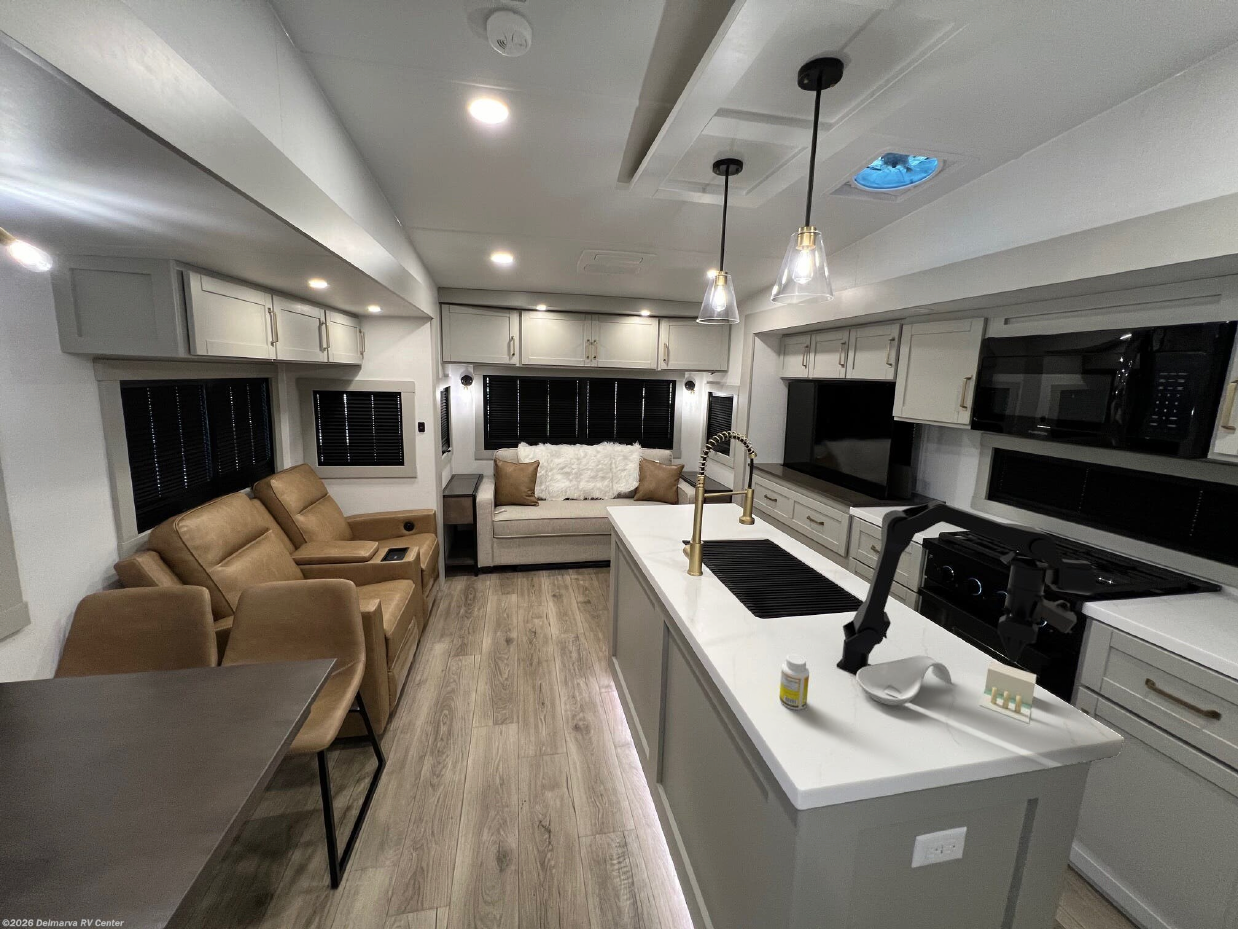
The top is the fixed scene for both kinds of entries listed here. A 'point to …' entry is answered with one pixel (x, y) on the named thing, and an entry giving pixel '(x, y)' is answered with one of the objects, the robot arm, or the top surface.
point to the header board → (1006, 705)
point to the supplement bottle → (794, 682)
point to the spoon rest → (899, 678)
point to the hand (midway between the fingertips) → (1014, 653)
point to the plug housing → (1011, 681)
